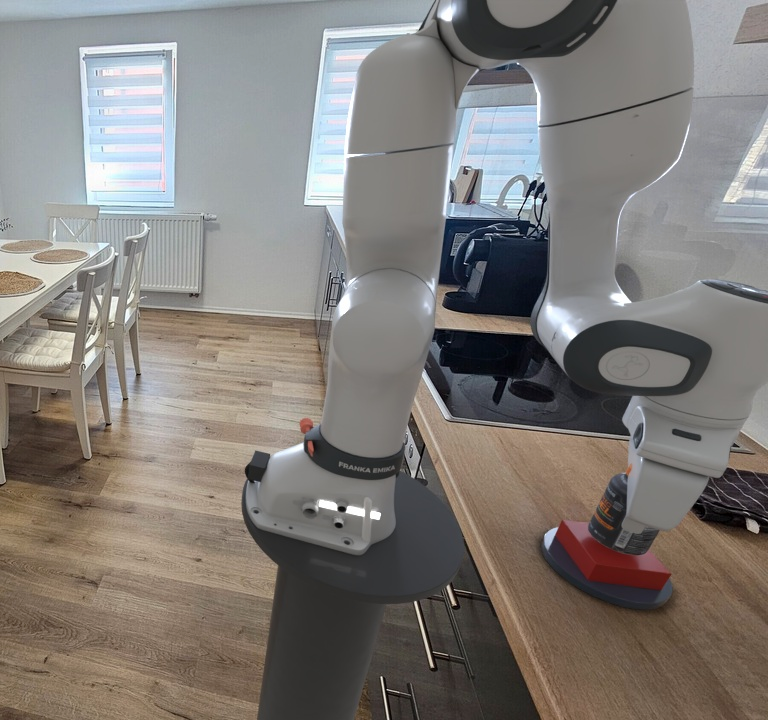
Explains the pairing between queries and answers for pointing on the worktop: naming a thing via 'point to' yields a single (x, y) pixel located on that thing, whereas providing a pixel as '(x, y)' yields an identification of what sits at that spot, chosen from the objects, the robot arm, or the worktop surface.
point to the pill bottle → (618, 520)
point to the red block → (610, 560)
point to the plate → (603, 591)
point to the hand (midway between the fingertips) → (630, 512)
